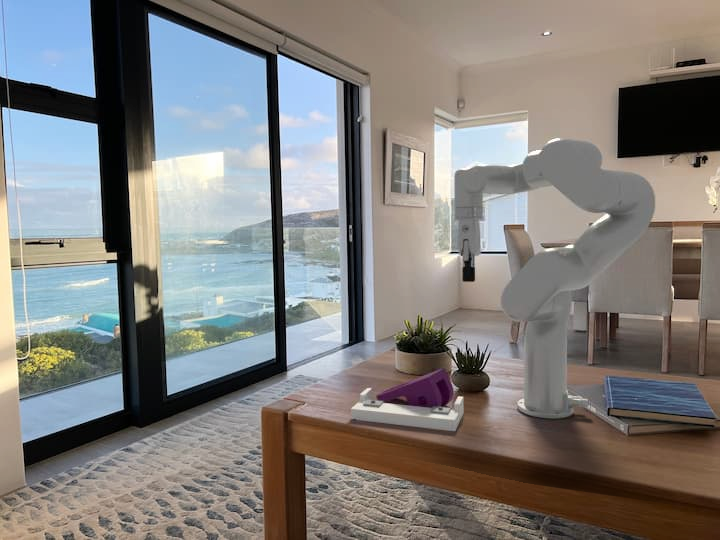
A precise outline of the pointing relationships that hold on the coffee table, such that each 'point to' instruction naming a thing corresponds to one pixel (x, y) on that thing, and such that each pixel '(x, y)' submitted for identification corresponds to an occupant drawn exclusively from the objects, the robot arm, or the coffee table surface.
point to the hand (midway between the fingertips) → (468, 281)
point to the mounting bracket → (423, 390)
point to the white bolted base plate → (407, 413)
